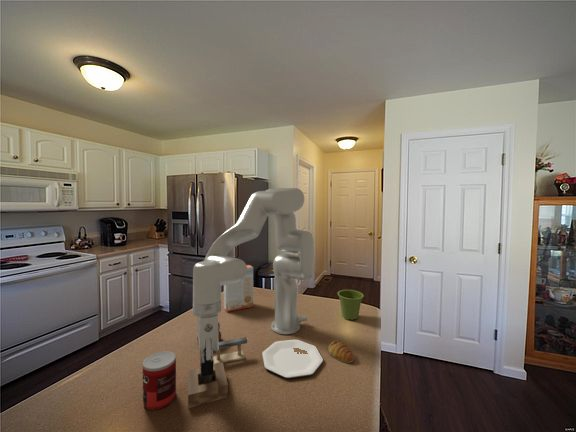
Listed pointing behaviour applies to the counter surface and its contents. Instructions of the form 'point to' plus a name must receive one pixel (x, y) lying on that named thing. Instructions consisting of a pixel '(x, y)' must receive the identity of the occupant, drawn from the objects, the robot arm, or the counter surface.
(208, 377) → the pin
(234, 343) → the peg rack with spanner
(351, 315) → the plant pot
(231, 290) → the cracker box
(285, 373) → the plate
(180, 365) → the counter surface
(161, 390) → the canned food
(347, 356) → the pastry
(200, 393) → the block with square hole
